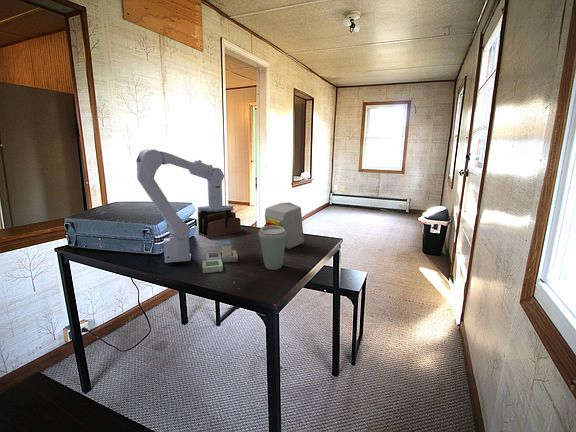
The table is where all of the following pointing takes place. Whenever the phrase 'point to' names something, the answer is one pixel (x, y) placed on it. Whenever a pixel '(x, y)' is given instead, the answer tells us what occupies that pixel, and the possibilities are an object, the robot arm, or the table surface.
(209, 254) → the panel
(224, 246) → the plug
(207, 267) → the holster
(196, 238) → the table surface
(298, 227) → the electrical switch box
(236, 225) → the letter holder
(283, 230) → the disposable coffee cup
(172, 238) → the robot arm
